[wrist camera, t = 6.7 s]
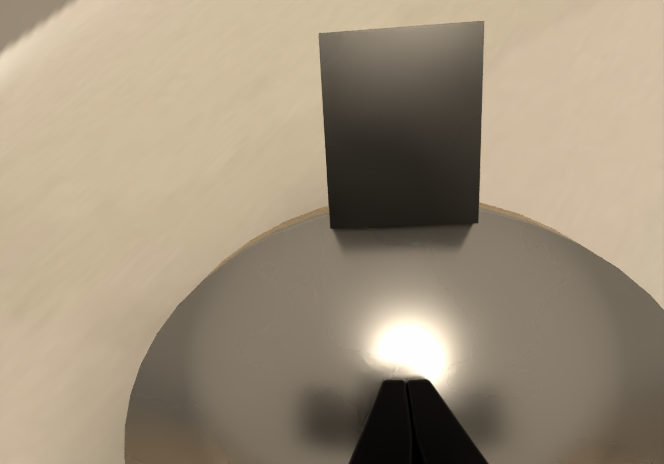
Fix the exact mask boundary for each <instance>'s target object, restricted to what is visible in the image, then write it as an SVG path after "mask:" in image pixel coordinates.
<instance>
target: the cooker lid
mask: <svg viewBox="0 0 664 464" xmlns="http://www.w3.org/2000/svg"><path fill="white" fill-rule="evenodd" d="M483 45H484V21H477V22H463V23H450V24H437V25H423V26H410V27H397V28H383V29H370V30H357V31H343V32H330V33H319V47H320V64H321V81H322V98H323V115H324V132H325V149H326V166H327V183H328V200H329V206H328V207H324V208H320V209H317V210H315V211H312V212H309V213H307V214H304V215H301V216H299V217H296V218H294V219H291V220H288V221H286V222H283V223H281V224H280V225H278V226H276V227H274V228H272V229H270V230H269V231H267V232H265V233H263V234H261V235H260V236H258V237H256V238H254V239H252V240H251V241H249V242H248V243H247V244H245V245H244V246H242V247H241V248H240V249H238V250H237V251H236V252H234V253H233V254H232V255H230V256H229V257H228V258H226V259H225V260H224V261H222V262H221V263H220V264H219V265H218V266H217V267H216V268H215V269H214V270H213V271H212V272H211V273H210V274H209V275H208V276H207V277H206V278H205V279H204V280H203V281H202V282H201V283H200V284H199V285H198V286H197V287H196V288H195V289H194V290H193V291H192V292H191V293H190V294H189V295H188V296H187V297H186V298H185V299H184V300H183V301H182V302H181V303H180V304H179V305H178V307H177V308H176V309H175V311H174V312H173V313H172V315H171V316H170V317H169V319H168V320H167V321H166V323H165V324H164V325H163V327H162V328H161V329H160V331H159V332H158V333H157V335H156V337H155V339H154V341H153V343H152V344H151V346H150V348H149V350H148V352H147V354H146V356H145V358H144V360H143V361H142V363H141V366H140V369H139V372H138V375H137V378H136V381H135V383H134V386H133V389H132V392H131V395H130V401H129V407H128V412H127V418H126V424H125V464H348V463H349V461H350V458H351V456H352V453H353V451H354V449H355V446H356V444H357V441H358V439H359V436H360V434H361V432H362V429H363V427H364V424H365V422H366V419H367V417H368V415H369V412H370V410H371V407H372V405H373V402H374V400H375V398H376V395H377V393H378V390H379V388H380V385H381V383H382V381H383V380H384V379H404V380H405V381H407V380H408V379H424V378H425V379H428V380H430V382H431V383H432V384H433V386H434V387H435V388H436V390H437V391H438V393H439V394H440V395H441V397H442V398H443V400H444V401H445V402H446V404H447V405H448V407H449V408H450V410H451V411H452V412H453V414H454V415H455V417H456V418H457V419H458V421H459V422H460V424H461V425H462V427H463V428H464V429H465V431H466V432H467V434H468V435H469V436H470V438H471V439H472V441H473V442H474V443H475V445H476V446H477V448H478V449H479V451H480V452H481V453H482V455H483V456H484V458H485V459H486V460H487V462H488V463H489V464H664V310H663V309H662V308H661V307H660V305H659V304H658V303H657V302H656V301H655V300H654V299H653V298H652V296H651V295H650V294H648V293H647V292H646V291H645V290H644V289H642V288H641V287H640V286H639V285H638V284H636V283H635V282H634V281H633V280H632V279H630V278H629V277H628V276H627V275H626V274H624V273H623V272H622V271H621V270H620V269H619V268H617V267H616V266H614V265H612V264H611V263H609V262H607V261H606V260H604V259H603V258H601V257H599V256H598V255H596V254H594V253H593V252H591V251H590V250H588V249H586V248H585V247H583V246H581V245H580V244H578V243H576V242H575V241H573V240H571V239H570V238H568V237H566V236H565V235H563V234H561V233H560V232H558V231H556V230H555V229H552V228H550V227H548V226H546V225H543V224H541V223H539V222H536V221H534V220H532V219H530V218H527V217H525V216H523V215H520V214H518V213H515V212H511V211H508V210H504V209H501V208H497V207H494V206H490V205H487V204H483V203H480V202H479V186H480V151H481V115H482V80H483Z"/></svg>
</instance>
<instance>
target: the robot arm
mask: <svg viewBox="0 0 664 464" xmlns="http://www.w3.org/2000/svg"><path fill="white" fill-rule="evenodd" d="M348 464H489V463H488V462H487V460H486V459H485V458H484V456H483V455H482V453H481V452H480V451H479V449H478V448H477V446H476V445H475V443H474V442H473V441H472V439H471V438H470V436H469V435H468V434H467V432H466V431H465V429H464V428H463V427H462V425H461V424H460V422H459V421H458V419H457V418H456V417H455V415H454V414H453V412H452V411H451V410H450V408H449V407H448V405H447V404H446V402H445V401H444V400H443V398H442V397H441V395H440V394H439V393H438V391H437V390H436V388H435V387H434V386H433V384H432V383H431V382H430V380H428V379H425V378H424V379H408V380H407V381H405V380H404V379H384V380H383V381H382V383H381V385H380V388H379V390H378V393H377V395H376V398H375V400H374V402H373V405H372V407H371V410H370V412H369V415H368V417H367V419H366V422H365V424H364V427H363V429H362V432H361V434H360V436H359V439H358V441H357V444H356V446H355V449H354V451H353V453H352V456H351V458H350V461H349V463H348Z"/></svg>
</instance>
